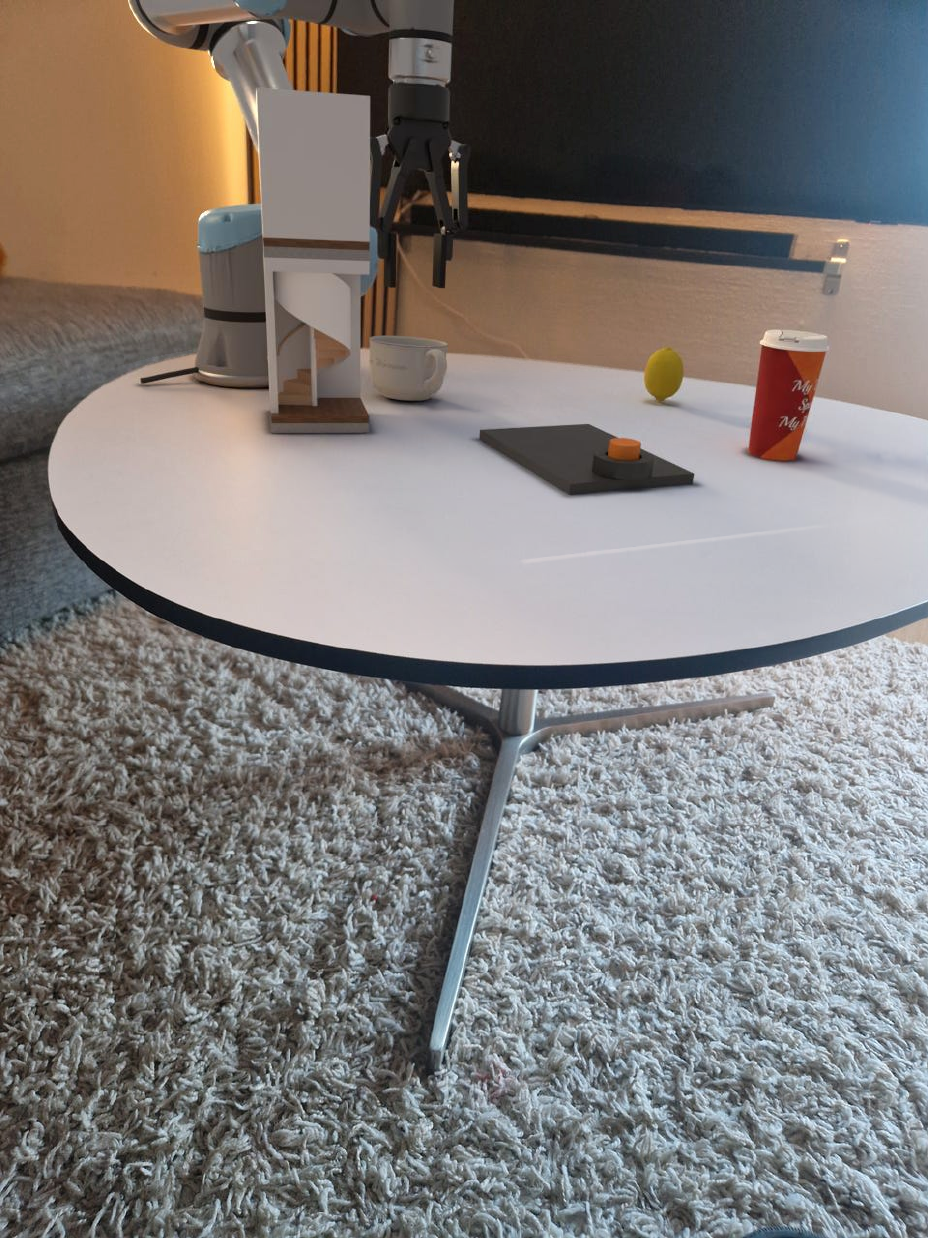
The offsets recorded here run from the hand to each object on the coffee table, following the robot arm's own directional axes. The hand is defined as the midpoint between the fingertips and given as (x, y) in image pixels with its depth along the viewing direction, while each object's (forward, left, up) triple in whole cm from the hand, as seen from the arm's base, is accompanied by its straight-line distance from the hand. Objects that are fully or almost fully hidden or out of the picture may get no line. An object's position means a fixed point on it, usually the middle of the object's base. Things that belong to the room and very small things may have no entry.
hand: (414, 286), depth 118 cm
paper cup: (+33, -36, -15) cm, 51 cm away
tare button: (+8, -41, -12) cm, 44 cm away
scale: (+8, -33, -15) cm, 37 cm away
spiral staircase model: (-16, -10, -15) cm, 24 cm away
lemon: (+36, -8, -15) cm, 40 cm away
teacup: (0, 0, -15) cm, 15 cm away
